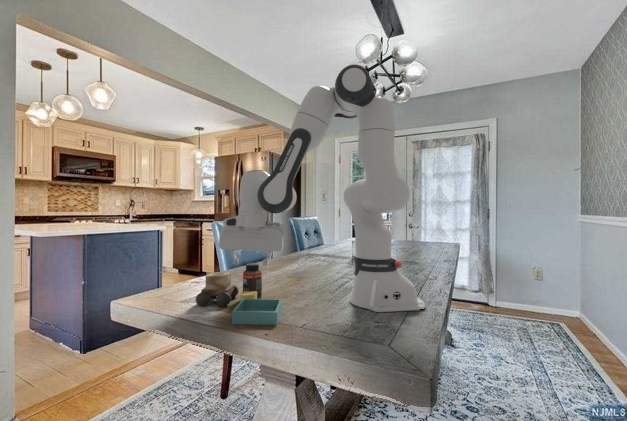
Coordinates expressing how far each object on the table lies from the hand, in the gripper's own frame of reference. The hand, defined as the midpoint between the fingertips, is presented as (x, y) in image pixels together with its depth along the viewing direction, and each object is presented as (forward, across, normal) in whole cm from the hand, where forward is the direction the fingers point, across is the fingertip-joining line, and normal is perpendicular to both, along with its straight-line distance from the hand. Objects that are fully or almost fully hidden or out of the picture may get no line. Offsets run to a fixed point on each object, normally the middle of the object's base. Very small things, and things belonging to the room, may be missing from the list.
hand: (250, 264), depth 97 cm
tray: (+11, -6, +15) cm, 20 cm away
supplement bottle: (+11, -1, 0) cm, 11 cm away
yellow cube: (+11, -1, +7) cm, 13 cm away
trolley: (+11, +9, +2) cm, 15 cm away
